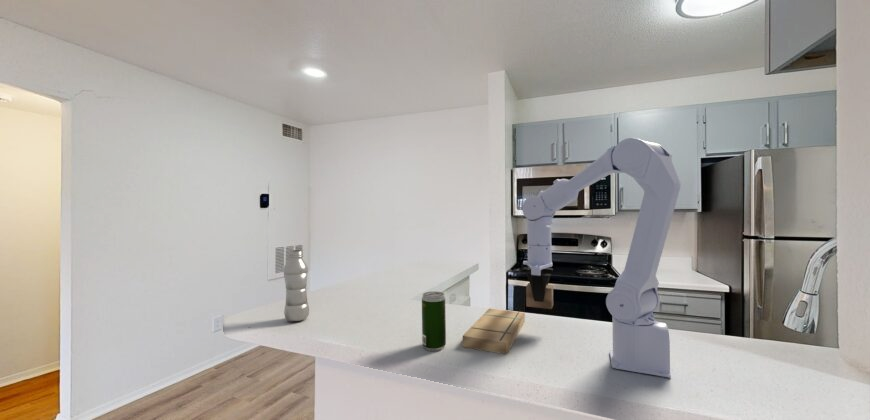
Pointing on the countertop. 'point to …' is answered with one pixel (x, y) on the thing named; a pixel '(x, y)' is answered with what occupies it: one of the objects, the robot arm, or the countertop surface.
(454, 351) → the countertop surface
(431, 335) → the beer can
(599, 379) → the countertop surface
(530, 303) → the walnut block
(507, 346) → the oak board
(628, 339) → the robot arm
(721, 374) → the countertop surface
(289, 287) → the plastic bottle
